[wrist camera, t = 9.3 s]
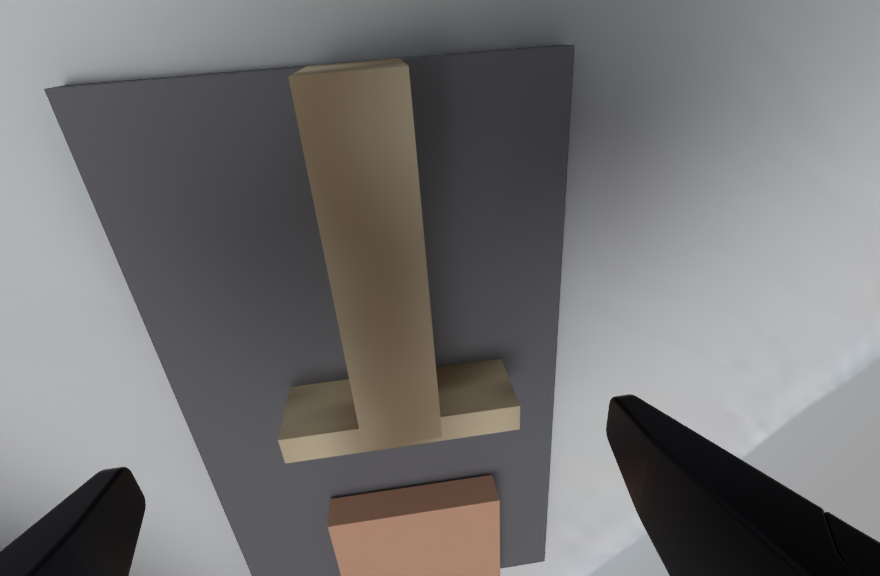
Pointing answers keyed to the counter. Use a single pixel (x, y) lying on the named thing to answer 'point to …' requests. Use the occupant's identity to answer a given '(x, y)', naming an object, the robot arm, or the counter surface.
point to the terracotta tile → (419, 530)
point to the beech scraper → (378, 279)
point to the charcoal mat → (307, 282)
